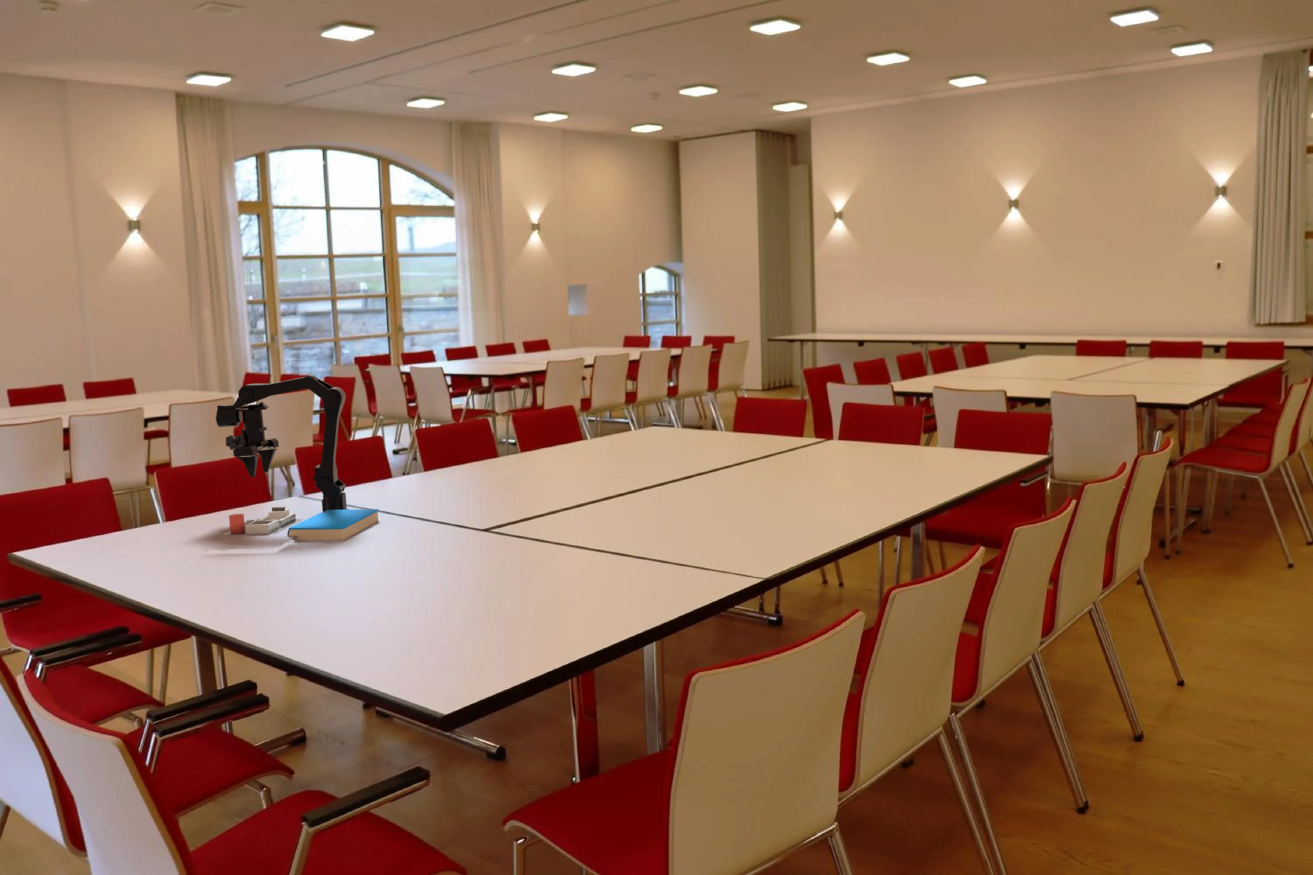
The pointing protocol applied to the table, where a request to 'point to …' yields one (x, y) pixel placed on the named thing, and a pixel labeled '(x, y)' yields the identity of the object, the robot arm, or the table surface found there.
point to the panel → (267, 525)
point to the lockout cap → (236, 523)
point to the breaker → (278, 513)
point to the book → (333, 524)
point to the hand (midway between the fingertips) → (259, 474)
